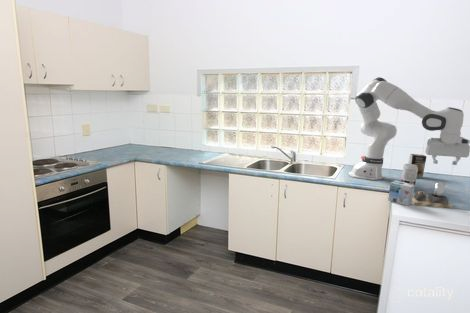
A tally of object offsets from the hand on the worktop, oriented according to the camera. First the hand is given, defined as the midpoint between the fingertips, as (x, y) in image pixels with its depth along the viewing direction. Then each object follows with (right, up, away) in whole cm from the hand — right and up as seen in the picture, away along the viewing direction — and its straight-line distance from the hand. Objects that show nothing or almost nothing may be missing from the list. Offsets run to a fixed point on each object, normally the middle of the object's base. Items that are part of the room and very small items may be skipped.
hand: (444, 164), depth 171 cm
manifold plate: (-5, -22, +6) cm, 23 cm away
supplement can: (-3, -16, +31) cm, 35 cm away
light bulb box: (-21, -21, +5) cm, 31 cm away
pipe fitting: (-1, -20, +5) cm, 21 cm away
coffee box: (+17, -11, +58) cm, 62 cm away
